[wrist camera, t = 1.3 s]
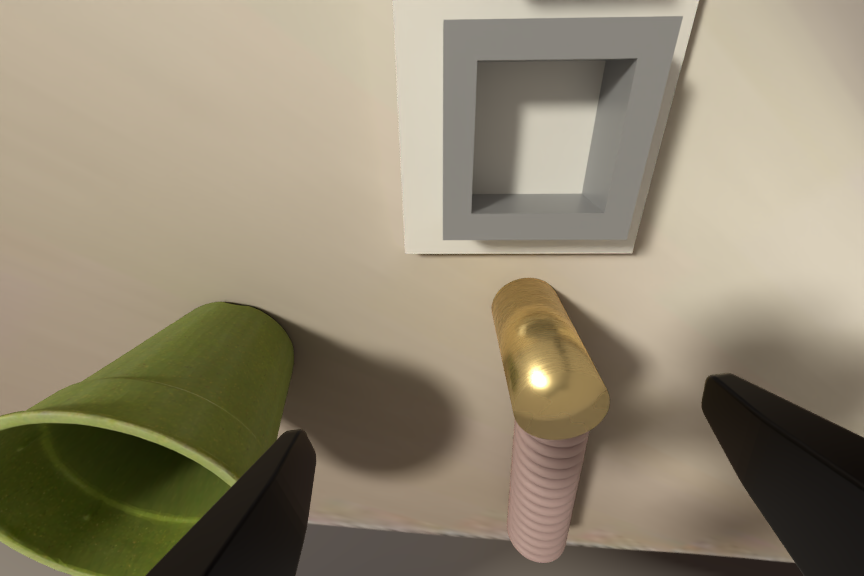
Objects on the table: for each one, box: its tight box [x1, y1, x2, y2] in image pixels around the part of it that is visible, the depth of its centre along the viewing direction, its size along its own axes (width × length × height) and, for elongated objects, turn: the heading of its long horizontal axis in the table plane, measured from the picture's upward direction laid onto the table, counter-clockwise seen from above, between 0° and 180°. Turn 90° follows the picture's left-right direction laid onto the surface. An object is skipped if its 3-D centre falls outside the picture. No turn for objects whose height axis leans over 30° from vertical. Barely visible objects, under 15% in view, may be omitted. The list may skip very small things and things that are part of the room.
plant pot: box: [0, 302, 294, 576], centre depth 20 cm, size 12×12×11 cm
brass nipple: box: [492, 278, 610, 440], centre depth 20 cm, size 4×4×8 cm
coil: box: [507, 420, 590, 563], centre depth 27 cm, size 5×5×18 cm
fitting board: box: [392, 0, 699, 254], centre depth 15 cm, size 12×20×4 cm, turn 1°
